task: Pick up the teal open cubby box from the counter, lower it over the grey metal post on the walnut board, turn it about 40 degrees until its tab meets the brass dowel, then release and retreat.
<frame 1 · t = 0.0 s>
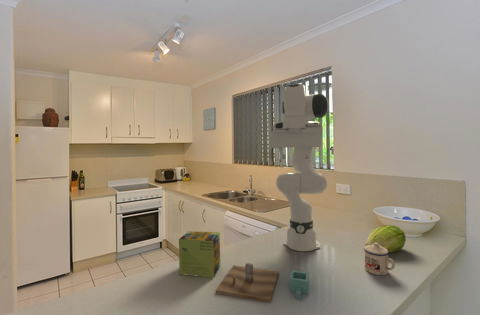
hand: (295, 158, 101), 48 cm above the worktop, fingers open, 8 cm apart
protein box: (200, 271, 109), on the worktop
lettuce: (383, 251, 125), on the worktop
teal open cubby box: (299, 287, 94), on the worktop
post board: (249, 283, 98), on the worktop
teacup with lid: (379, 272, 105), on the worktop
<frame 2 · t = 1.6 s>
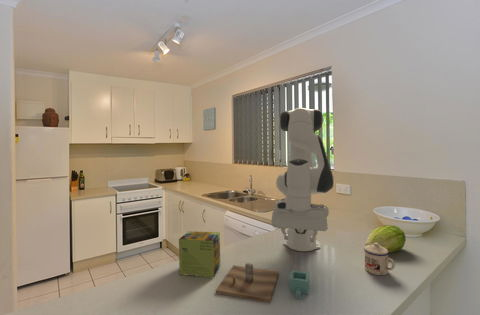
hand: (299, 240, 93), 18 cm above the worktop, fingers open, 8 cm apart
nothing on the worktop moved.
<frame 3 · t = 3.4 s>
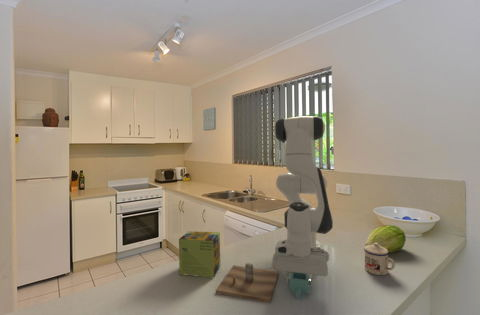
hand: (299, 283, 94), 2 cm above the worktop, fingers closed on teal open cubby box, 7 cm apart
teal open cubby box: (299, 287, 94), on the worktop, touching gripper
everything else where it was.
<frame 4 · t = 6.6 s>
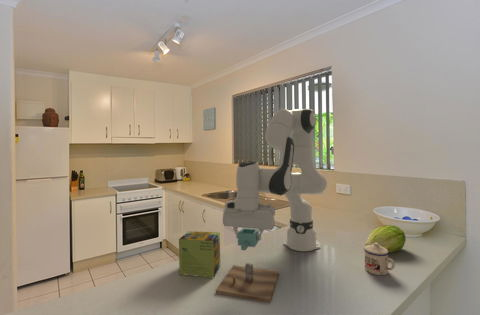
hand: (248, 238, 97), 18 cm above the worktop, fingers closed on teal open cubby box, 7 cm apart
teal open cubby box: (248, 243, 97), point 16 cm above the worktop, touching gripper
everything else where it was.
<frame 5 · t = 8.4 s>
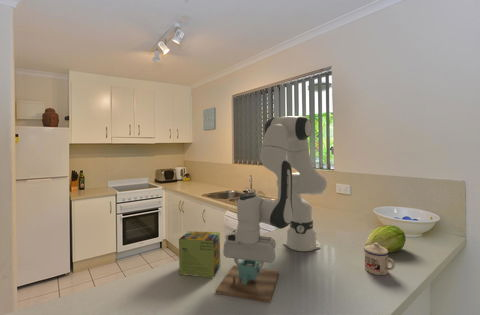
hand: (249, 270, 97), 5 cm above the worktop, fingers closed on teal open cubby box, 7 cm apart
teal open cubby box: (249, 274, 97), point 4 cm above the worktop, touching gripper
everything else where it was.
when the fingers open (3 cm above the worktop, at t = 9.7 s): teal open cubby box stays where it is, resting on post board.
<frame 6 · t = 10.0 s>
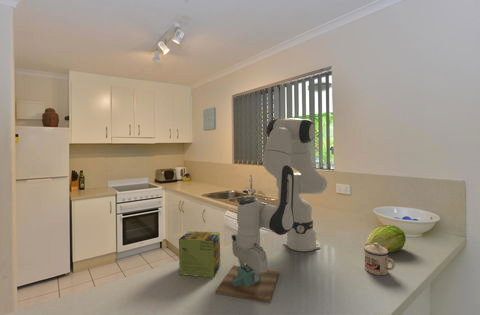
hand: (249, 274, 98), 3 cm above the worktop, fingers open, 8 cm apart
teal open cubby box: (249, 280, 98), point 1 cm above the worktop, touching post board
everything else where it was.
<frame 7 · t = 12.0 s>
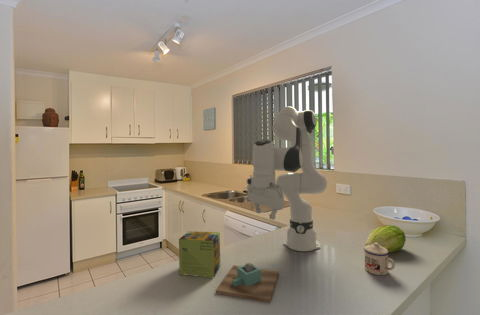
hand: (265, 215, 100), 26 cm above the worktop, fingers open, 8 cm apart
nothing on the worktop moved.
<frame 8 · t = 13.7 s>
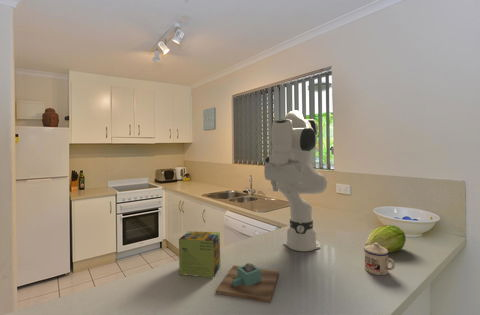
hand: (282, 192, 102), 34 cm above the worktop, fingers open, 8 cm apart
nothing on the worktop moved.
at the end: teal open cubby box 0.1 cm off-centre on the post board, point 1.2 cm above the post board's base; the gripper is holding nothing; teal open cubby box tilted 0° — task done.
